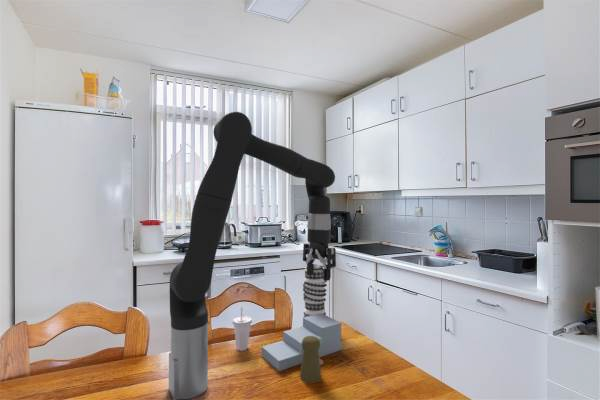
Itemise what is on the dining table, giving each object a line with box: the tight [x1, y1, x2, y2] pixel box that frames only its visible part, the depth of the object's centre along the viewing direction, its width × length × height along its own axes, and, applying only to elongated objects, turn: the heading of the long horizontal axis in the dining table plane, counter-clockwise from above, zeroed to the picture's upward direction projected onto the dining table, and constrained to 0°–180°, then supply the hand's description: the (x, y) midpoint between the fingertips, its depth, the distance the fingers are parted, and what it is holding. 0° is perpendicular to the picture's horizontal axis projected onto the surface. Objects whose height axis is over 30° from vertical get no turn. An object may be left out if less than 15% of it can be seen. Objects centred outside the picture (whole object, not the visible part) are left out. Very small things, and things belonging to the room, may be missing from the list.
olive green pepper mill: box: [299, 336, 322, 384], centre depth 89 cm, size 6×6×11 cm
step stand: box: [261, 313, 342, 372], centre depth 103 cm, size 24×11×9 cm, turn 124°
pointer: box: [319, 357, 324, 366], centre depth 97 cm, size 2×4×1 cm, turn 34°
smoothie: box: [232, 306, 253, 352], centre depth 106 cm, size 6×6×14 cm
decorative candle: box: [302, 263, 328, 318], centre depth 121 cm, size 9×9×25 cm
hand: (318, 277), depth 102 cm, fingers open, 8 cm apart
